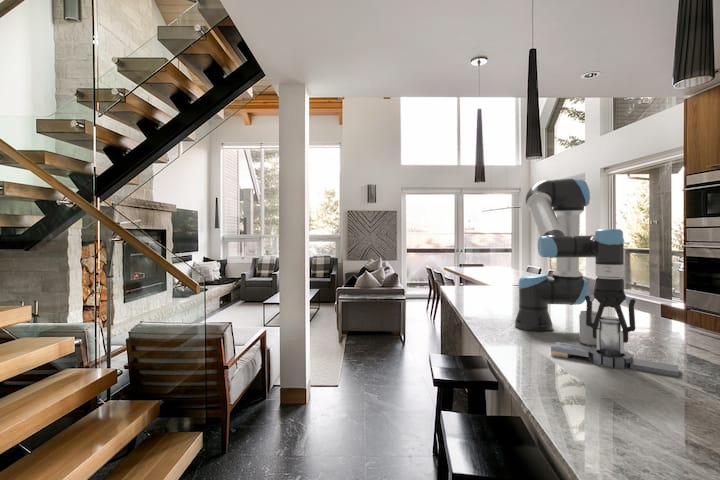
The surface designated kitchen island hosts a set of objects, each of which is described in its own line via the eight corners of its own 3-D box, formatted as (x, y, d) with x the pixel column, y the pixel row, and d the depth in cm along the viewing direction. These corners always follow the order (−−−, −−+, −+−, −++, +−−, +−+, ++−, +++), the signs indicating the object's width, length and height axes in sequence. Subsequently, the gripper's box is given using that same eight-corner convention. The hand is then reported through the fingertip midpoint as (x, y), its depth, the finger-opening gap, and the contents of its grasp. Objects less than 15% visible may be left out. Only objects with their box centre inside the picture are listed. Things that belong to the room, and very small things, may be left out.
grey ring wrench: (549, 357, 127) (549, 348, 127) (557, 349, 136) (557, 340, 136) (678, 379, 105) (678, 368, 105) (678, 368, 114) (678, 358, 114)
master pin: (597, 356, 120) (596, 318, 120) (600, 352, 125) (600, 315, 125) (620, 360, 116) (620, 321, 116) (623, 355, 121) (622, 318, 121)
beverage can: (594, 341, 144) (593, 310, 144) (603, 346, 138) (602, 313, 138) (576, 341, 145) (576, 310, 145) (584, 346, 139) (584, 313, 139)
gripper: (573, 277, 124) (574, 348, 124) (645, 280, 112) (646, 359, 112) (578, 275, 129) (579, 343, 129) (646, 278, 117) (647, 353, 117)
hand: (610, 350), depth 121 cm, fingers closed on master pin, 5 cm apart
